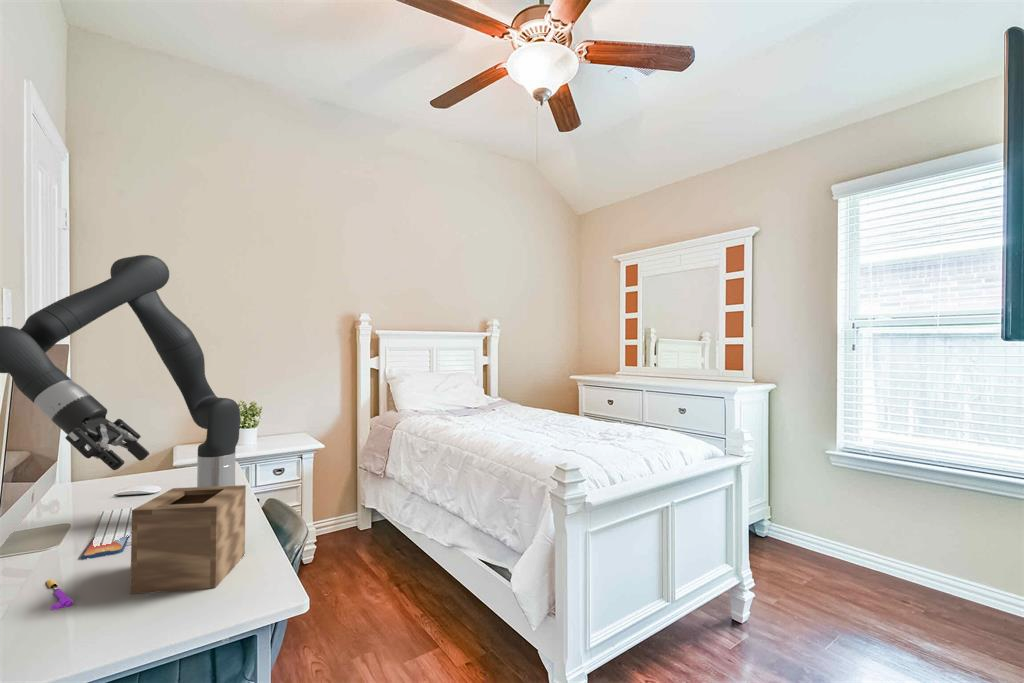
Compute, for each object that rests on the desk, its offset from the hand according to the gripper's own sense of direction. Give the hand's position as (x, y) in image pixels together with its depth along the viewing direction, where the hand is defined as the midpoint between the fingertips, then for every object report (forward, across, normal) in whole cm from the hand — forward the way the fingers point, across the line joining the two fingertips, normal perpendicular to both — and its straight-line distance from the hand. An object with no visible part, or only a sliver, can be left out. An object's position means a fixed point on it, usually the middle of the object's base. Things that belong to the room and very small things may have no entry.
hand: (133, 461), depth 99 cm
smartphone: (+6, +19, +28) cm, 35 cm away
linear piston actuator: (+10, -5, +25) cm, 27 cm away
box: (+25, 0, +9) cm, 26 cm away
